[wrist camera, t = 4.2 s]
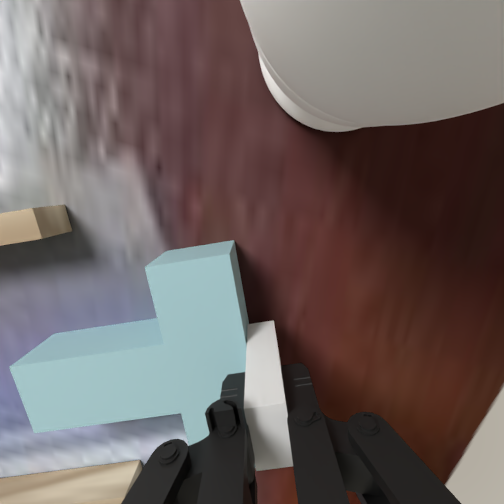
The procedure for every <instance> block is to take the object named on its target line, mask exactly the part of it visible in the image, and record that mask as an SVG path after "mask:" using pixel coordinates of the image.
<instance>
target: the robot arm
mask: <svg viewBox="0 0 504 504" xmlns="http://www.w3.org/2000/svg"><path fill="white" fill-rule="evenodd" d="M205 416H206V421H207V425H208V429H209V435H208V436H207V437H206V438H204V439H203V440H201V441H199V442H197V443H194V444H192V445H190V446H188V445H187V444H186V443H185V442H184V441H183V440H180V439H173V440H169V441H167V442H164V443H163V444H161V445H160V446H159V447H157V449H156V450H155V451H154V452H153V453H152V455H151V456H150V458H149V460H148V461H147V463H146V464H145V466H144V468H143V469H142V471H141V473H140V474H139V476H138V477H137V479H136V481H135V482H134V484H133V485H132V487H131V489H130V490H129V492H128V493H127V495H126V497H125V498H124V500H123V501H122V503H121V504H257V483H256V478H255V467H256V471H261V470H268V469H276V468H283V467H291V466H293V468H294V475H295V482H296V489H297V497H298V504H350V503H349V500H348V496H347V493H346V490H347V491H352V492H356V494H357V497H358V498H359V500H360V502H361V503H362V504H461V503H460V502H459V501H458V500H457V499H456V498H455V496H454V495H453V494H452V493H451V492H450V491H449V490H448V489H447V488H446V486H445V485H444V484H443V483H442V482H441V481H440V480H439V479H438V478H437V477H436V476H435V474H434V473H433V472H432V471H431V470H430V469H429V468H428V467H427V466H426V465H425V463H424V462H423V461H422V460H421V459H420V458H419V457H418V456H417V455H416V454H415V453H414V451H413V450H412V449H411V448H410V447H409V446H408V445H407V444H406V443H405V442H404V440H403V439H402V438H401V437H400V436H399V435H398V434H397V433H396V432H395V431H394V430H393V428H392V427H391V426H390V425H389V424H388V423H387V422H386V421H385V420H384V419H383V418H381V417H380V416H379V415H376V414H374V413H369V412H360V413H356V414H354V415H353V416H351V417H350V419H349V420H348V422H341V421H336V420H332V419H330V418H328V417H327V416H325V415H324V414H323V413H322V412H321V410H320V408H319V405H318V402H317V398H316V395H315V391H314V388H313V384H312V381H311V378H310V374H309V371H308V368H307V367H305V366H304V365H303V364H302V363H297V364H290V365H283V366H281V361H280V355H279V349H278V343H277V337H276V331H275V325H274V320H273V321H266V322H260V323H253V324H248V326H247V348H246V370H245V372H241V373H234V374H228V375H227V376H226V378H225V379H224V381H223V382H222V388H221V395H220V399H219V400H217V401H215V402H213V403H212V404H211V405H210V406H209V407H208V408H207V410H206V412H205Z"/></svg>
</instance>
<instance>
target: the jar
mask: <svg viewBox="0 0 504 504" xmlns="http://www.w3.org/2000/svg"><path fill="white" fill-rule="evenodd" d="M240 2H241V5H242V8H243V10H244V13H245V16H246V18H247V21H248V23H249V26H250V29H251V33H252V36H253V39H254V42H255V45H256V47H257V50H258V55H259V61H260V66H261V70H262V73H263V76H264V79H265V82H266V84H267V86H268V88H269V90H270V92H271V94H272V95H273V97H274V98H275V100H276V101H277V102H278V104H279V105H280V106H281V107H282V108H283V109H284V110H285V111H286V112H287V113H288V114H289V115H290V116H292V117H293V118H294V119H296V120H297V121H299V122H301V123H302V124H304V125H307V126H309V127H311V128H314V129H318V130H322V131H329V132H344V131H351V130H355V129H359V128H362V127H377V126H394V125H410V124H419V123H426V122H432V121H438V120H443V119H448V118H452V117H457V116H461V115H465V114H469V113H472V112H476V111H479V110H483V109H486V108H489V107H493V106H496V105H499V104H502V103H504V0H240Z"/></svg>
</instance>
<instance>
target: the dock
mask: <svg viewBox="0 0 504 504" xmlns="http://www.w3.org/2000/svg"><path fill="white" fill-rule="evenodd" d="M71 231H72V228H71V225H70V222H69V218H68V215H67V211H66V208H65V205H58V206H48V207H39V208H31V209H25V210H19V211H13V212H7V213H1V214H0V246H1V245H7V244H13V243H19V242H26V241H32V240H38V239H43V238H47V237H51V236H55V235H59V234H63V233H67V232H71ZM141 471H142V465H141V462H140V460H137V461H129V462H122V463H114V464H106V465H99V466H91V467H83V468H76V469H68V470H60V471H53V472H45V473H37V474H30V475H22V476H14V477H7V478H0V504H121V503H122V501H123V500H124V498H125V497H126V495H127V493H128V492H129V490H130V489H131V487H132V485H133V484H134V482H135V481H136V479H137V477H138V476H139V474H140V473H141Z"/></svg>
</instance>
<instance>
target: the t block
mask: <svg viewBox="0 0 504 504" xmlns="http://www.w3.org/2000/svg"><path fill="white" fill-rule="evenodd" d="M145 270H146V274H147V279H148V283H149V287H150V291H151V295H152V299H153V303H154V307H155V311H156V315H157V318H155V319H148V320H142V321H135V322H128V323H122V324H115V325H108V326H102V327H95V328H88V329H82V330H75V331H68V332H62V333H55V334H53V335H52V336H50V337H49V338H48V339H46V340H45V341H44V342H42V343H41V344H40V345H38V346H37V347H36V348H34V349H33V350H32V351H30V352H29V353H28V354H26V355H25V356H24V357H22V358H21V359H19V360H18V361H17V362H15V363H14V364H13V365H11V366H10V367H9V368H10V370H11V373H12V376H13V378H14V381H15V383H16V386H17V389H18V391H19V394H20V397H21V399H22V402H23V405H24V407H25V410H26V412H27V415H28V418H29V420H30V423H31V426H32V428H33V431H34V433H40V432H47V431H54V430H62V429H69V428H76V427H84V426H91V425H98V424H106V423H113V422H120V421H128V420H135V419H142V418H150V417H157V416H164V415H172V414H179V413H181V415H182V419H183V423H184V427H185V431H186V435H187V439H188V443H189V446H190V445H192V444H194V443H197V442H199V441H201V440H203V439H204V438H206V437H207V436H208V435H209V429H208V425H207V421H206V416H205V412H206V410H207V408H208V407H209V406H210V405H211V404H212V403H213V402H215V401H217V400H219V399H220V395H221V388H222V382H223V381H224V379H225V378H226V376H227V375H228V374H234V373H241V372H245V370H246V348H247V326H248V324H249V321H248V315H247V309H246V304H245V298H244V292H243V287H242V281H241V276H240V270H239V264H238V259H237V253H236V247H235V242H234V240H233V241H226V242H220V243H214V244H208V245H201V246H195V247H189V248H183V249H176V250H170V251H166V252H164V253H163V254H162V255H160V256H159V257H158V258H156V259H155V260H154V261H152V262H151V263H150V264H148V265H147V266H146V267H145Z"/></svg>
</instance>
